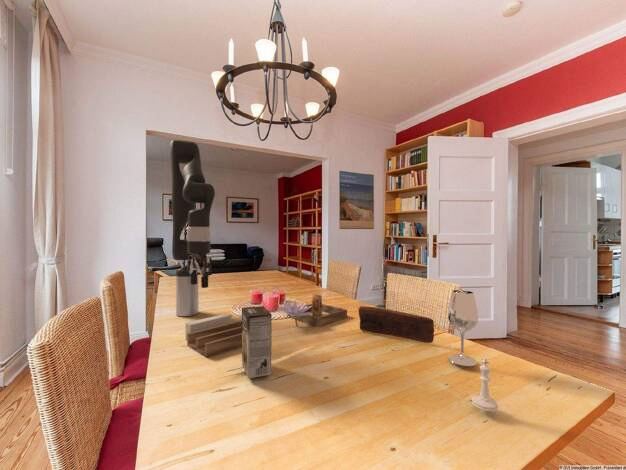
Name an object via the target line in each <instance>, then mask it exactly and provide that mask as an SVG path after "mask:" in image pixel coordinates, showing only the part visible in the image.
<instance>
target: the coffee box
mask: <svg viewBox="0 0 626 470" xmlns="http://www.w3.org/2000/svg"><path fill="white" fill-rule="evenodd" d="M272 316H273V314H272V312H270V310H268V309H267V308H266V307H265V306H264V305H262V306H246V307H242V308H241V321H242V347H241V358H242V359H241V362H242V367H243V370H244V372H245V374H246V376H247V379H254V378H259V377H263V376H270V375H272V340H273V339H272V338H273V337H272V333H273V332H272V329H273V328H272V325H273V323H272V320H273V319H272Z"/></svg>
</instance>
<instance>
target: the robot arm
mask: <svg viewBox="0 0 626 470" xmlns="http://www.w3.org/2000/svg"><path fill="white" fill-rule="evenodd" d="M169 157H170V159H169V160H170V170H171V171H170V172H171V210H172V211H171V212H172V213H171V215H172V242H171V243H172V244H171V247H172V248H171V252H172V258H173V260H175V261H187V262H186V263H187V265H185V266H182V267H180V268H177V269H176V271H175V295H176V296H175V297H176V298H175V301H176V302H175V312H176V313H175V315H176V316H178V317H190V316H195V315H198V314H199V273H200V276H201V277H200V279H201V280H200V287H201V288H203V289H206V288H209V277H210V276H212V274H213V265H212V264H213V259H212V257H210V256H207V254H210V253H211V229H210V228H211V227H210V225H211V223H210V221H211V220H210V219H211V218H210V216H211V209H212V206H213V202H214V200H215V199H214V198H215V195H216V190H215V187H214V186H213V185H212V184H210V183H206V179H205V176H204V173H203V169H202V160H201V154H200V148H199V146H198V144H197V143H196V142H194V141H189V140H188V141H187V140H186V141H185V140H179V139H173V140H171V142H170V144H169ZM180 164H181V165H182V164H185V166H184V168H183V171H181V167H180ZM196 204H203V205H202V207H201V208H197V209H196ZM187 224H188V225H187ZM186 225H187V239H182V238H181V235H182V233H183V231H184V229H185V227H186Z"/></svg>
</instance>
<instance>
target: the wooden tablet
mask: <svg viewBox="0 0 626 470" xmlns="http://www.w3.org/2000/svg"><path fill="white" fill-rule="evenodd" d="M358 317H359V329H360V330H361V331H363V332H366V333H370V334H372V333H373V334H378V335H383V336H388V337H395V338H399V339H405V340H410V341H415V342H421V343H424V344H425V343H426V344H427V343H429V344H431V343H434V338H435V334H434V333H435V321H434V320H433V319H432V318H430V317H427V316H422V315H417V314H413V313H408V312H404V311H399V310H392V309H389V308H381V307H375V306H365V305H364V306H363V305H361V306H359V308H358Z"/></svg>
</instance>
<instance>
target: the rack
mask: <svg viewBox="0 0 626 470" xmlns="http://www.w3.org/2000/svg"><path fill="white" fill-rule="evenodd" d="M186 341H187V345H186V346H187V347H189V348H190V349H191V350H193V351H195V352H197V353H198V354H200V355H202V356H203V357H204V358H206V359H207V358H211V357H214V356H217V355H220V354H223V353H228V352H230V351H232V350H235V349H236V350H237V349H239V348H242V320H237V321H234V322H233V321H232V322H231V323H229V324H224V325H220V326H216V327H212V328H208V329H204V330H200V331H195V332H191V333H187V340H186Z"/></svg>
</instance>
